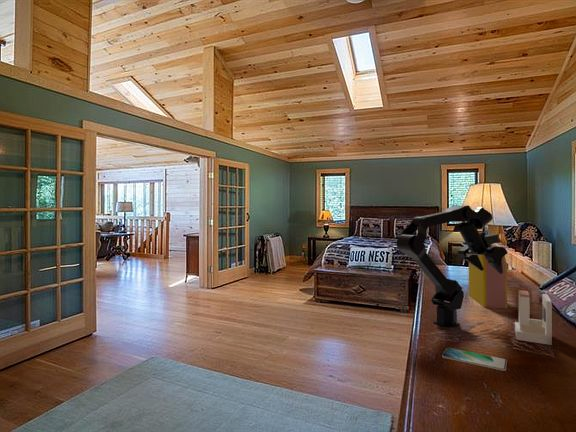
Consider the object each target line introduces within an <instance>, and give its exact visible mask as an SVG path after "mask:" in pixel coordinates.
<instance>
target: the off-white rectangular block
mask: <svg viewBox="0 0 576 432" xmlns="http://www.w3.org/2000/svg"><path fill="white" fill-rule="evenodd" d="M530 304H531V303H530V293H529V291H528V290H521V289H520V290H518V322H519V327H520V329H521V330H522V325H529V326H530V319H531V318H530V315H531V314H530V312H531V311H530V308H531V307H530V306H531V305H530Z"/></svg>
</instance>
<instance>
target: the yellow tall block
mask: <svg viewBox="0 0 576 432" xmlns="http://www.w3.org/2000/svg"><path fill="white" fill-rule="evenodd" d="M494 246H495V245H494V244H491V247H489V248H488V249H489V250H490V249H491V248H493V247H494ZM496 246H497V247H499V246H498V245H496ZM478 257H479V259H480V261H481V264H482V266H483V269H484V270H483V271H481V270H479V269H478V268H476V267H475V266H474V265H472V264H471V263H469V262H468V296H469V298H471V299H472V300H474V301H475V302H476V303H478V304H479V305H480V306H482V307H483V308H488V309H489V308H490V309H491V308H492V309H493V308H494V309H508V264H507V260H506V255H505V256H504V257H503V258H502V268H503V273H502V274H500V273H498V272H497V271H496V270H495V269H494V268H493V267H492V266H491V265H490V264H489V263H488V260H487V259H486V258H485V255H478Z"/></svg>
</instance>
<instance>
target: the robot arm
mask: <svg viewBox="0 0 576 432" xmlns="http://www.w3.org/2000/svg"><path fill="white" fill-rule="evenodd" d="M493 219H494V218H493V214H492V213H491V212H490V211H488V210H487V209H485V207H484V206H478V207H476V209H475V210H474V209H472V207H471V206H470V205H453V206H450V207H447V208H446V209H445V210H443V211H441V212H436V213H431V214H427V215H422V216H415V217H413V218H412V220H411V221H410V223H409V224H408V225H407V226H406V227H405V228H404V229H403V230H402V231H401V234H399V236H398V237H397V239H396V244H395V246H396V247H397V249H398V250H399V251H400V252H402V253H403V254H404V255H406V256H408V257H409V258H410V259H413V261H414V262H415V263H416V264H417V265H418V267H419V268H420V269H421V271H423V273H424V274H425V275H426V276H427V278H428V279H429V280H430V282H432V284H433V285H434V290H435V291H434V292H435V294H434V295H433V296H432V298H431V300H430V301H431V302H432V305H433V306H434V305H435V306H436V320H433V324H437V325H439V326H441V327H442V326H443V327H446V328H452V327H457V326H460V325H461V323H460V322H457V321H458V320H457V318H458V315H457V314H458V313H457V310H462V305H463V301H464V297H465V292H464V291H463V289H464V287H462V286H461V284H459V282H458V281H457V280H455V279H451V278H447V276H446V275H445V274H444V272H442V270H441V269H440V268H439V267H438V266H437V265H436V263H435V262H434V261H433V260H432V259H431V257H430V255H428V253H427V251H426V245H425V241H426V239H427V233H428V228H430V227H434V226H437V225H442V224H443V225H444V224H447V223H451V222H460V223H455V224H454V227H453V228H452V229H453V230H452V232H453V233H455V232H458V233H460V235H461V237H462V239H463V241H462V244H463V245H464V246H463V247H461V248H459V249H458V251H457V255H458V257H459V258H461V259H463V260H464V261H466V262H467V263H468V264H469V263H471V264H472V265H474V266H475V267H476V268H478V269H479V270H481V271H483V270H484V269H483V266H482V264H481V261H480V259H479V257H478V255H485V258H486V259H487V260H488V263H489V264H490V265H491V266H492V267H493V268H494V269H495V270H496V271H497V272H498V273H500V274H502V273H503V268H502V258H503V257H504V256H505V257H506V255H507V254H508V250H507V248H506V247H504V246H498V245H494V244H499V243H500V237H499V234H498V233H486V232H483V231H482V232H479V230H482V229H483V228H485V226H487V225H488V224H489V223H490V222H492V220H493ZM417 231H418V232H417ZM416 232H417V234H416V235H415V233H416ZM491 244H493V245H494V247H493V248H491V249H490V250H489V249H488V248H489V247H491ZM497 246H498V247H497Z"/></svg>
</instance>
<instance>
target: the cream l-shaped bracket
mask: <svg viewBox="0 0 576 432" xmlns="http://www.w3.org/2000/svg"><path fill="white" fill-rule="evenodd" d="M552 305H553V303H552V299H550V297H549V295H548V294H547V293H542V307H541V309H542V310H541V312H542V319H536V318H530V326H529V325H522V330H521V329H520V327H519V321H515V322H514V333H515V339H516V340H518V341H524V342H530V343H537V344H543V345H550V346H552V345H553V342H552V341H553V340H552V339H553V337H552V336H553V334H552V333H553V332H552V331H553V328H552V327H553V326H552V325H553V324H552V323H553V321H552V320H553V319H552V318H553V314H552V312H553V306H552Z"/></svg>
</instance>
